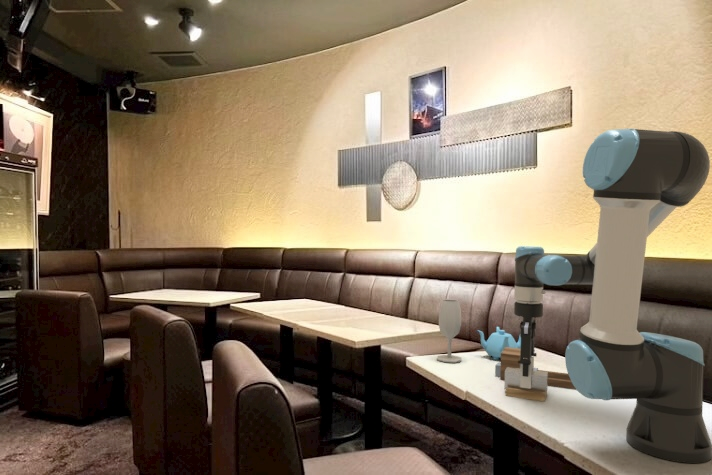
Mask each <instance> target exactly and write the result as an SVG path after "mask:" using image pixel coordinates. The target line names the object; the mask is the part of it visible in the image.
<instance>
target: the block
mask: <svg viewBox="0 0 712 475" xmlns="http://www.w3.org/2000/svg"><path fill="white" fill-rule="evenodd" d="M544 371H545V370H543V371H536V370H531V389H528V388H521V387H520V369H519V368H511V367H507V368H506V370H505V380H504V390H506V387H509V388H516V389H523V390H530V391H538V392H545V395H546V396H547V395H548V388H549V386H548V372H544Z"/></svg>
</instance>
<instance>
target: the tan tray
mask: <svg viewBox="0 0 712 475" xmlns="http://www.w3.org/2000/svg"><path fill="white" fill-rule="evenodd" d="M505 396H506V397H512V398H519V399H527V400H532V401H538V402H539V401H541V402H546V398H547V395H545V392H538V391H530V390H523V389H516V388H509V387H506V389H505Z"/></svg>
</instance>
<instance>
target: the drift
mask: <svg viewBox="0 0 712 475" xmlns="http://www.w3.org/2000/svg"><path fill="white" fill-rule="evenodd" d="M494 370H495V371H494V372H495V373H494V375H495V376H494V377H497V378H500V370H501V362H497V363H496V364H495V369H494ZM534 370H536V371H538V370H539V367H534Z"/></svg>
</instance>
